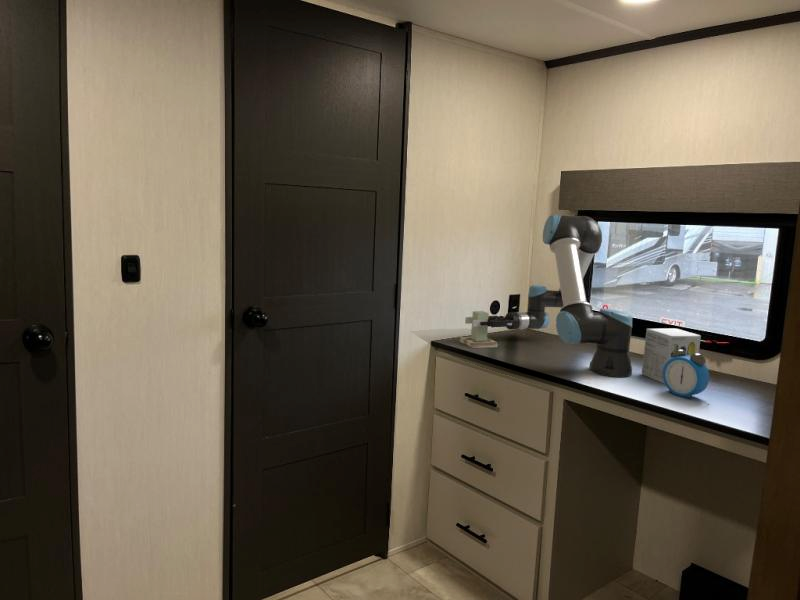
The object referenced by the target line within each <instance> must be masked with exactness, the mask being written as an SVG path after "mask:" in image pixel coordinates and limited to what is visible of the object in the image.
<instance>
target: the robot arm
mask: <svg viewBox="0 0 800 600" xmlns="http://www.w3.org/2000/svg"><path fill="white" fill-rule="evenodd" d="M542 230H543V231H542V242H543V243H544V244H546V245H548V246H549V249H550V252H552V253H553V254H554V256H555V257H554V258H555V262H556V268H557V275H558V281H559V289H558V290H552V289H551V290H549V289H547V286H545V285H540V284H533V285H532V284H531V285H530V286H529V289H528V296H527V297H528V298H527V299H528V300H527V311H516V312H515V311H513V312H507V313H506V315H504V316H503V315H500V316H498V315H496V314H495V315H489V316H488V322H487V320H473V322H472V316H465V319H464V320H465V321H464V322H465V325H466V324H468V325H469V324H471V327H472V326H473V327H480V326H488V328H492V329H493V328H507V330H510V331H511V330H519V331H523V330H540V329H546V328H547V327H549V325H550V322H551V321H550V315H549V314H548V312H546V310H545V309H546V308H560V309H559V312H558V314H557V316H556V317H555V318H556V319H555V322H556V323H555V328H556V329H555V330H556V332H557V336H558V337H559V338H560V340H561V341H563V342H564V343H566V344H573V345H578V344H579V345H580V344H581V345H595V346H596V347H595V351H594V353H593V356H592V358H591V361H590V362H589V366H588V369H589V371H590V372H593V373H594V374H598V375H602V376H606V377H613V378H615V377H616V378H624V377H625V378H627V377H630V376H632V374H633V367H632V361H631V357H630V349H631V348H630V346H631V340H632V339H631V337H632V331H633V330H632V328H633V316H632V315H631V314H629V313H627V312H624V311H620V310H616V309H610V308H603V307H602V308H600V309H599V312H594V310H593V306H592V304H590V303H589V302H588V301H587V297H586V296H587V295H586V290H585V286H584V285H585V284H584V278H585V275H586V273H587V271H588V268H589V266H590V264H591V263H592V260H593V258H594V255H595V254H597V253H599V251H600V248H601V246H602V242H603V233H602V230H601V227H600V225H599V224H598V222H597V221H596V220H594V219H593V218H592V217H589V216H586V215H582V216H581V215H562V214H551V215H550V216H548V217H547V218H546V221H545V223H544V226H543V229H542Z"/></svg>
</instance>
